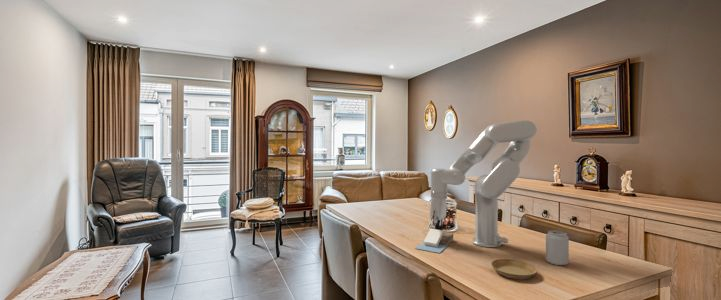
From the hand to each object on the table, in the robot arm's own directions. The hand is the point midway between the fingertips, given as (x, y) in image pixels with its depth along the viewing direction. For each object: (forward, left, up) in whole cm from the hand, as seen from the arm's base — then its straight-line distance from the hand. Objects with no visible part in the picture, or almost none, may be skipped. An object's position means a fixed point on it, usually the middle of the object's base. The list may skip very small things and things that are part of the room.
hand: (438, 233), depth 150 cm
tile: (0, +5, -2) cm, 6 cm away
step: (0, -1, -4) cm, 4 cm away
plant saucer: (-35, +21, -4) cm, 41 cm away
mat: (0, +10, -4) cm, 11 cm away
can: (-48, +2, -4) cm, 48 cm away
